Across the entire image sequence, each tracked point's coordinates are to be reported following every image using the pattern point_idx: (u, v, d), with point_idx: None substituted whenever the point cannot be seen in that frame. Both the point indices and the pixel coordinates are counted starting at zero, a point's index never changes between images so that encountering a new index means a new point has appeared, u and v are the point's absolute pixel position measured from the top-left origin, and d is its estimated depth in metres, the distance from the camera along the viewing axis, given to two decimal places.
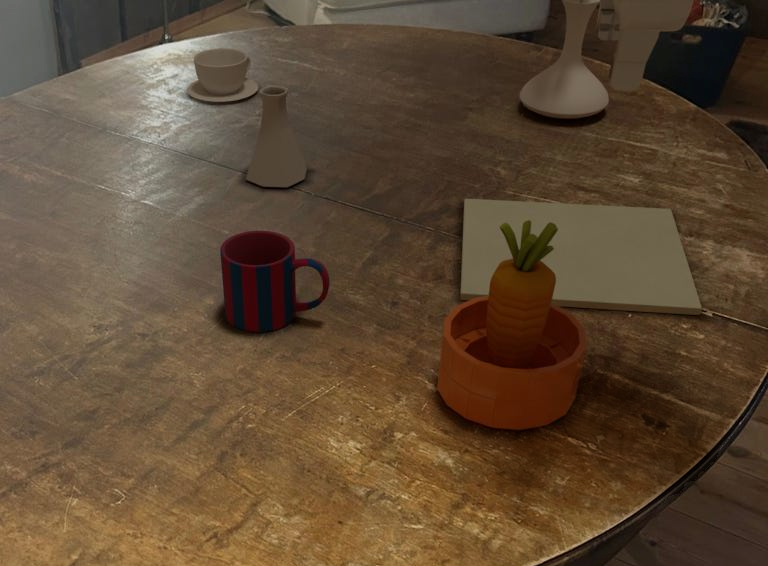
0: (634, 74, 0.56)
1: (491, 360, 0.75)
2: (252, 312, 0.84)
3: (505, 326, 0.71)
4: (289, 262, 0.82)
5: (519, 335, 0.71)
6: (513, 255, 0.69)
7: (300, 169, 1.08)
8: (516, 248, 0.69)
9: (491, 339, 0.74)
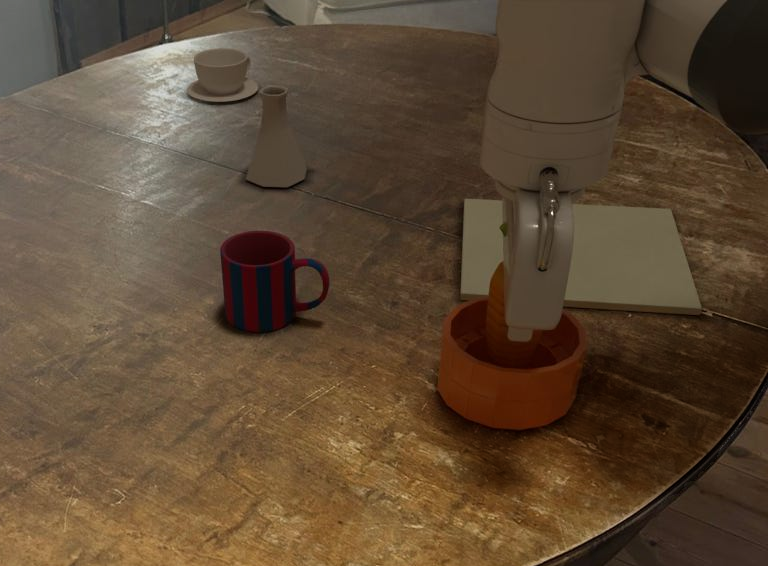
0: (525, 330, 0.69)
1: (491, 360, 0.75)
2: (252, 312, 0.84)
3: (504, 326, 0.71)
4: (288, 262, 0.82)
5: None
6: None
7: (300, 169, 1.08)
8: None
9: (491, 339, 0.74)
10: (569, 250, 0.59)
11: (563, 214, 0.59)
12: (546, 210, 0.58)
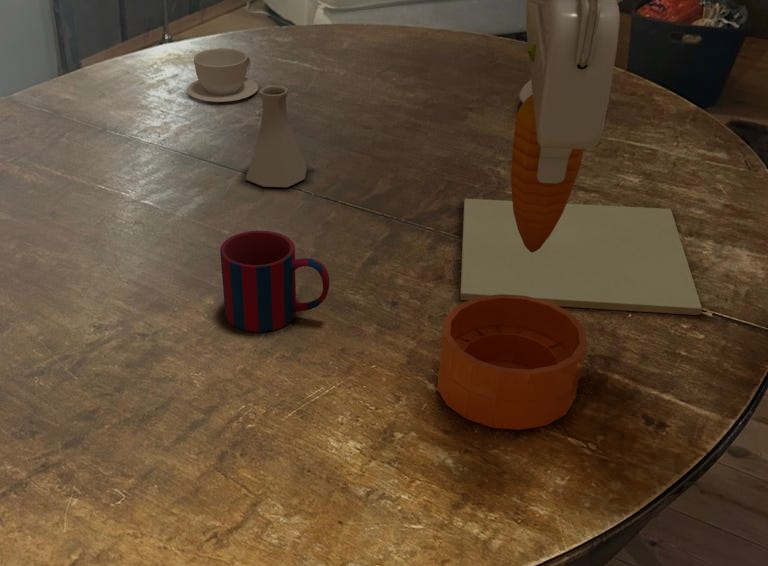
0: (558, 168, 0.61)
1: (517, 218, 0.67)
2: (252, 312, 0.84)
3: (533, 170, 0.63)
4: (289, 262, 0.82)
5: None
6: None
7: (300, 169, 1.08)
8: None
9: (517, 190, 0.65)
10: (614, 40, 0.50)
11: (606, 1, 0.51)
12: None
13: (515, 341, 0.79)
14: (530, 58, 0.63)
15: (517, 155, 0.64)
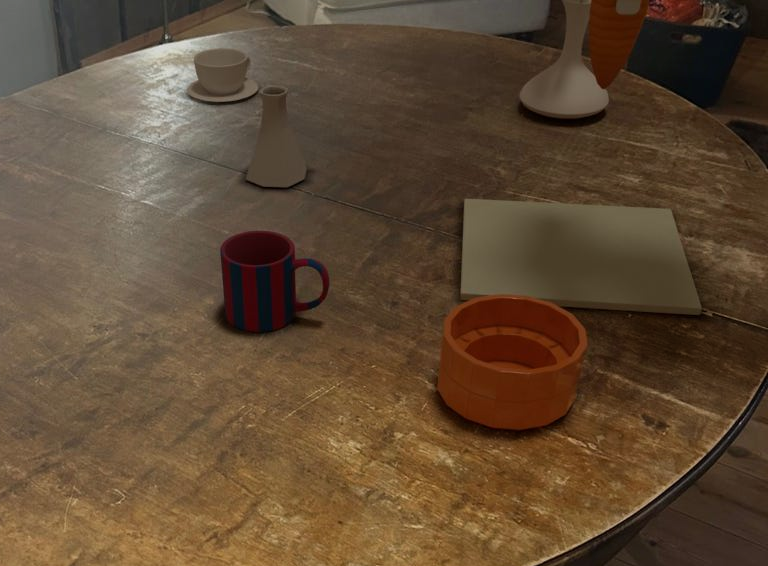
0: (634, 0, 0.72)
1: (592, 55, 0.79)
2: (252, 312, 0.84)
3: (610, 6, 0.75)
4: (288, 262, 0.82)
5: (624, 14, 0.75)
6: None
7: (300, 169, 1.08)
8: None
9: (594, 28, 0.77)
10: None
11: None
12: None
13: (515, 341, 0.79)
14: None
15: None
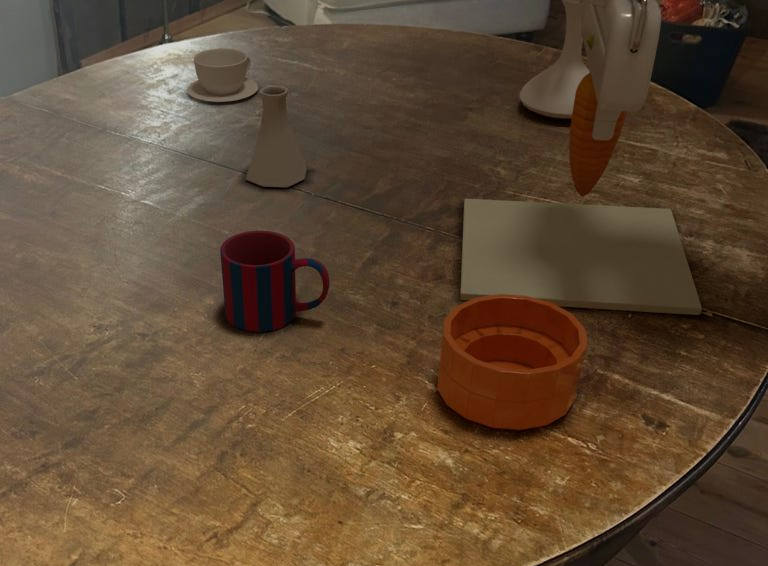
0: (608, 129, 0.82)
1: (572, 168, 0.88)
2: (252, 312, 0.84)
3: (587, 130, 0.84)
4: (289, 262, 0.82)
5: None
6: None
7: (300, 169, 1.08)
8: None
9: (574, 146, 0.86)
10: (657, 33, 0.71)
11: (651, 5, 0.72)
12: None
13: (515, 341, 0.79)
14: (587, 47, 0.84)
15: (575, 119, 0.85)
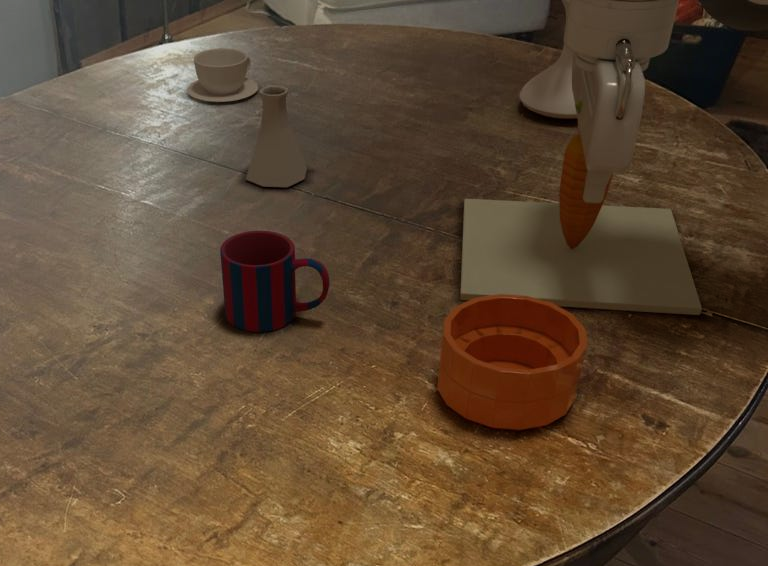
0: (598, 192, 0.84)
1: (562, 223, 0.92)
2: (252, 312, 0.84)
3: (576, 189, 0.88)
4: (288, 262, 0.82)
5: None
6: None
7: (300, 169, 1.08)
8: None
9: (563, 203, 0.90)
10: (641, 101, 0.75)
11: (636, 74, 0.75)
12: (624, 68, 0.74)
13: (515, 341, 0.79)
14: None
15: (565, 178, 0.88)
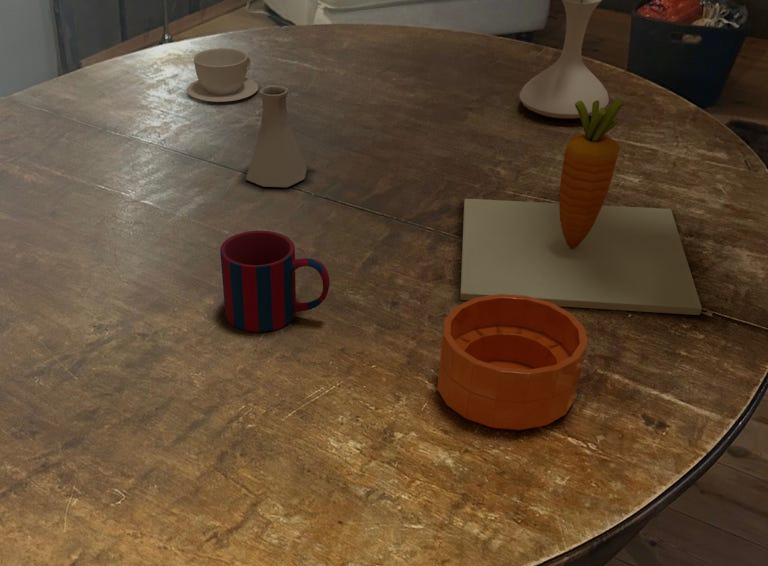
0: None
1: (562, 223, 0.92)
2: (252, 312, 0.84)
3: (576, 189, 0.88)
4: (289, 262, 0.82)
5: (588, 196, 0.88)
6: (585, 128, 0.86)
7: (300, 169, 1.08)
8: (587, 122, 0.85)
9: (563, 203, 0.90)
10: None
11: None
12: None
13: (515, 341, 0.79)
14: None
15: (565, 178, 0.88)
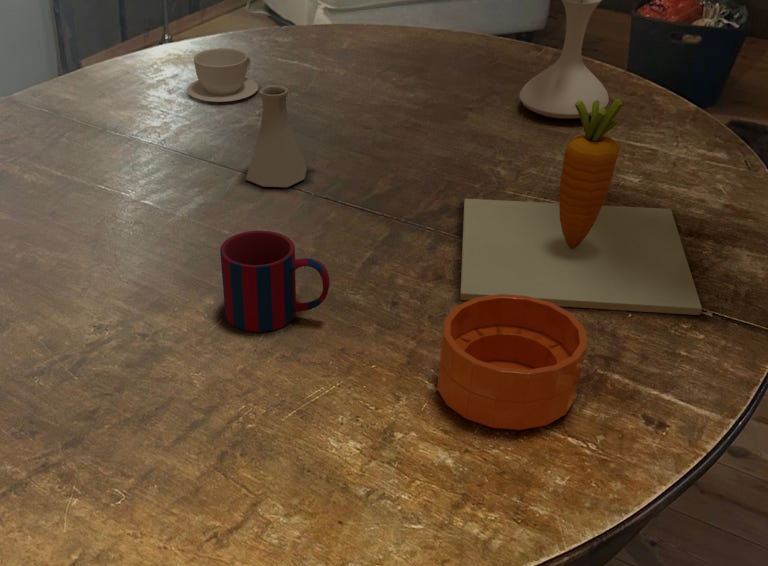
0: None
1: (562, 223, 0.92)
2: (252, 312, 0.84)
3: (576, 189, 0.88)
4: (289, 262, 0.82)
5: (588, 196, 0.88)
6: (585, 128, 0.86)
7: (300, 169, 1.08)
8: (587, 122, 0.85)
9: (563, 203, 0.90)
10: None
11: None
12: None
13: (515, 341, 0.79)
14: None
15: (565, 178, 0.88)
